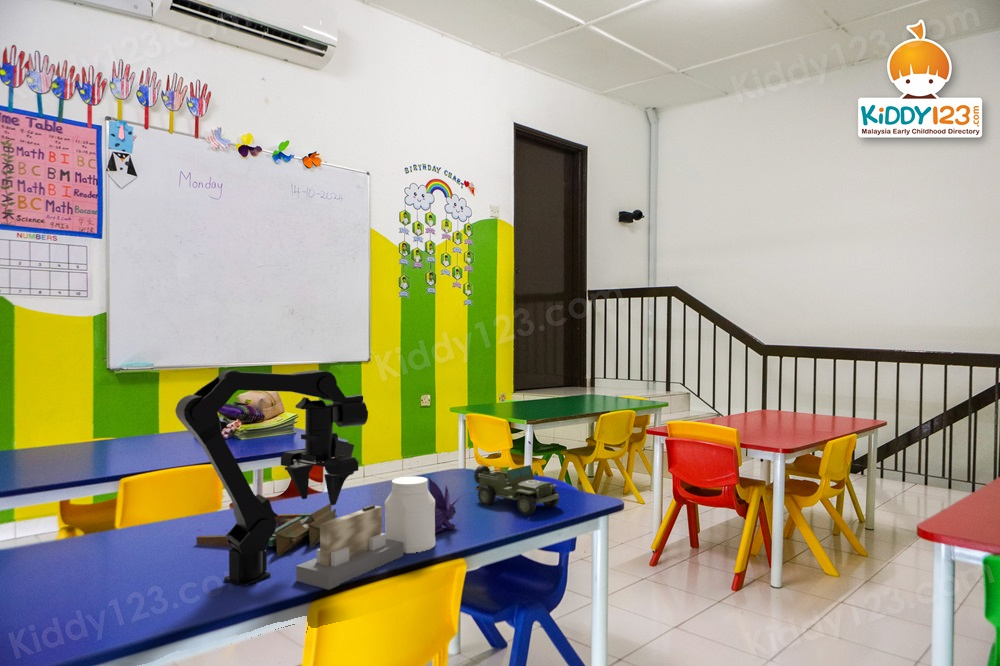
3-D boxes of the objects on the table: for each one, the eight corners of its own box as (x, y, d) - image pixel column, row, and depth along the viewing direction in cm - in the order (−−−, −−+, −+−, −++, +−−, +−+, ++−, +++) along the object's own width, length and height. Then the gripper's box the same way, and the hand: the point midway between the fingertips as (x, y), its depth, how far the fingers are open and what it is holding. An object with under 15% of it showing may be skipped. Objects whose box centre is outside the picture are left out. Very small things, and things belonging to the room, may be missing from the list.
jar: (443, 544, 153) (442, 479, 153) (414, 555, 145) (413, 487, 145) (406, 535, 159) (406, 473, 159) (377, 546, 152) (376, 480, 152)
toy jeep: (535, 518, 174) (535, 476, 174) (469, 502, 191) (468, 464, 191) (563, 508, 183) (563, 469, 183) (497, 494, 200) (497, 458, 200)
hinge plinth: (329, 589, 126) (328, 560, 126) (296, 580, 131) (295, 553, 131) (403, 556, 145) (403, 530, 145) (372, 549, 149) (372, 525, 149)
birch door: (327, 565, 130) (327, 522, 130) (320, 564, 131) (319, 520, 131) (382, 543, 144) (381, 504, 144) (375, 542, 145) (374, 502, 145)
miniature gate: (251, 504, 176) (356, 501, 170) (253, 525, 176) (358, 523, 170) (184, 535, 150) (305, 532, 144) (186, 559, 150) (307, 558, 144)
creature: (474, 525, 167) (474, 476, 167) (416, 542, 155) (416, 489, 155) (452, 518, 174) (451, 471, 174) (394, 533, 161) (394, 483, 161)
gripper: (377, 428, 143) (377, 500, 143) (319, 422, 154) (319, 489, 154) (338, 434, 134) (337, 511, 134) (279, 427, 145) (278, 498, 144)
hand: (318, 501), depth 142 cm, fingers open, 9 cm apart
